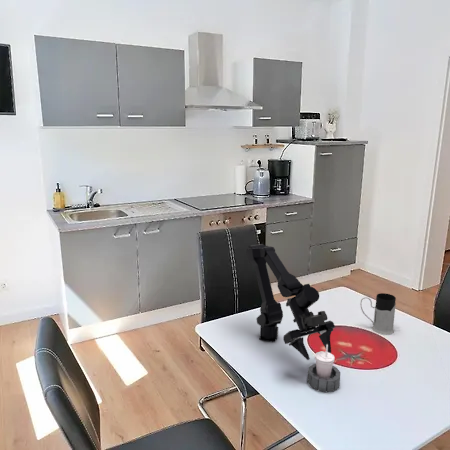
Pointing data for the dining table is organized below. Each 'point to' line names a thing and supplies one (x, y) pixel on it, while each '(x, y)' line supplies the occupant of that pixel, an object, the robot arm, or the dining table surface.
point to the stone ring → (323, 380)
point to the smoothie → (324, 363)
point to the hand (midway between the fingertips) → (319, 356)
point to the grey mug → (383, 313)
